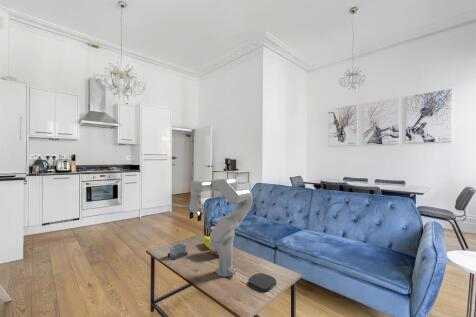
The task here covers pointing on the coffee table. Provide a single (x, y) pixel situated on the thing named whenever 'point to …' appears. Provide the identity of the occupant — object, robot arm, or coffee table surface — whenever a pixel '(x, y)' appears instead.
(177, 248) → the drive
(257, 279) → the media streaming box
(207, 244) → the yellow toy chassis
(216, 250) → the cracker box
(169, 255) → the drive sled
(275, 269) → the coffee table surface
